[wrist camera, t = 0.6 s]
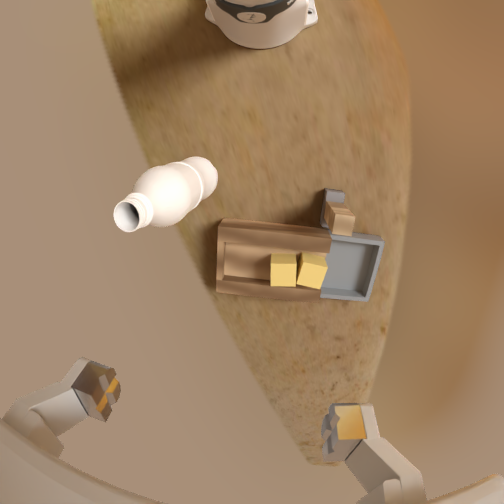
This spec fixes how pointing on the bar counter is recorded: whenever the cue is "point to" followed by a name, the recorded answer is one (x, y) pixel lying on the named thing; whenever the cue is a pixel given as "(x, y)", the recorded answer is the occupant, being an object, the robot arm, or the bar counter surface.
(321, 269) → the pale yellow cube
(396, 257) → the bar counter surface
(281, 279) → the pale yellow block
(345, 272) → the tray
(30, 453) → the robot arm
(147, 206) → the water bottle
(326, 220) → the wooden post on base
